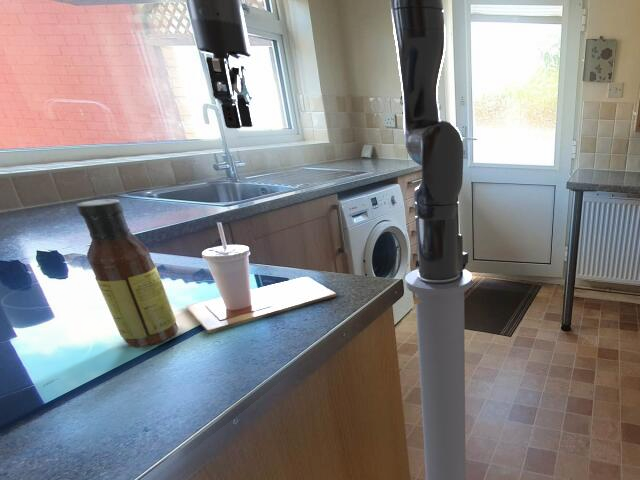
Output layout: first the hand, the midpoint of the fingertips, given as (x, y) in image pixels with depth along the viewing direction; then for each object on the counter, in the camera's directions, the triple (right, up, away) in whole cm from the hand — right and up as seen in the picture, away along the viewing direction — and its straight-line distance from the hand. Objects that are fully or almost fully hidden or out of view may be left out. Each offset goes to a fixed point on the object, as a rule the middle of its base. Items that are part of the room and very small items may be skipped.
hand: (240, 127), depth 73 cm
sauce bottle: (-4, -36, -14) cm, 39 cm away
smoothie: (+3, -32, -5) cm, 32 cm away
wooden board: (+6, -31, -2) cm, 32 cm away
